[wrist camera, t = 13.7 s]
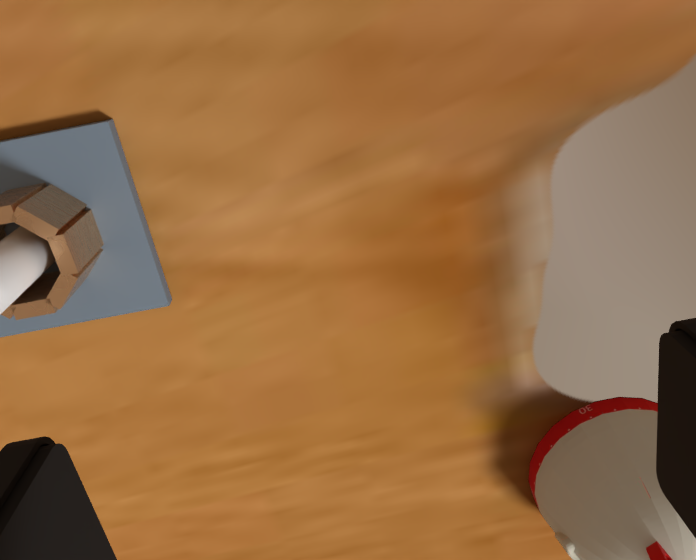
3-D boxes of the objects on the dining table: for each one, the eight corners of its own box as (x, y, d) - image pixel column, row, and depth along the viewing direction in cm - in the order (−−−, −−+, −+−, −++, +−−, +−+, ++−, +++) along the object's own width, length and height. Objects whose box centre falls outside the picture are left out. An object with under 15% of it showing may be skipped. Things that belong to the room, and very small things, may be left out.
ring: (79, 176, 40) (48, 197, 35) (114, 274, 43) (91, 306, 38) (-27, 196, 40) (-70, 220, 36) (16, 292, 43) (-20, 326, 38)
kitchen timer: (588, 550, 57) (675, 722, 43) (495, 467, 53) (560, 629, 39) (719, 462, 54) (859, 618, 40) (632, 366, 49) (756, 504, 35)
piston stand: (112, 118, 40) (52, 151, 30) (172, 299, 45) (135, 374, 36) (-85, 157, 40) (-203, 201, 31) (-3, 332, 45) (-84, 414, 36)
